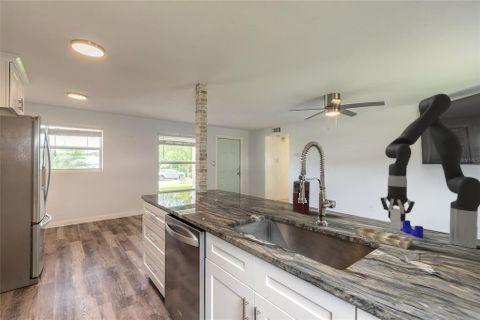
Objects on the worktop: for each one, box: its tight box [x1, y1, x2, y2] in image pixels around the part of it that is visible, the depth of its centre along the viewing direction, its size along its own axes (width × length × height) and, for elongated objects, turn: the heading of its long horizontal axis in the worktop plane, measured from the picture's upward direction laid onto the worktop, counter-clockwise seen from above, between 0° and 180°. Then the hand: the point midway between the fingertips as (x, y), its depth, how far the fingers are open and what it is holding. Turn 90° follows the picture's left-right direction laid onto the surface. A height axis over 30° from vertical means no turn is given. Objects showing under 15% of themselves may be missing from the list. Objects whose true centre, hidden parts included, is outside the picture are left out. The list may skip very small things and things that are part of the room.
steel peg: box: [389, 207, 403, 231], centre depth 103 cm, size 4×4×9 cm
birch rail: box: [354, 226, 413, 250], centre depth 107 cm, size 22×10×3 cm, turn 39°
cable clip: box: [400, 219, 424, 239], centre depth 117 cm, size 12×4×6 cm, turn 171°
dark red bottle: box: [292, 174, 311, 215], centre depth 160 cm, size 9×11×28 cm
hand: (396, 220), depth 103 cm, fingers closed on steel peg, 4 cm apart
